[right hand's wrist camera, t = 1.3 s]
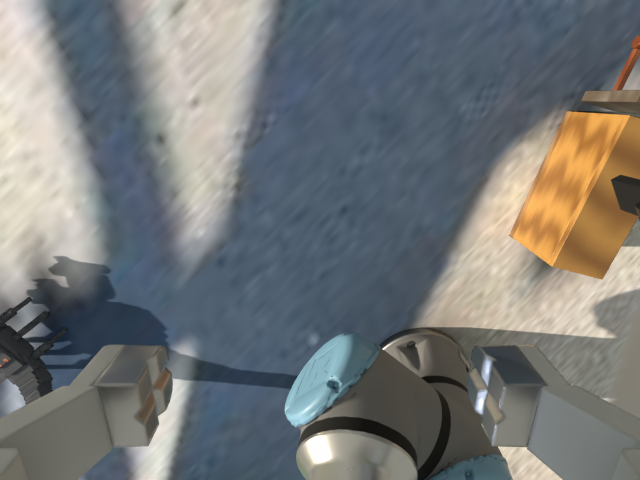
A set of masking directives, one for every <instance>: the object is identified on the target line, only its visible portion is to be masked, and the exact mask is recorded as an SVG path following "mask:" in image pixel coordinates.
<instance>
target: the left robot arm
mask: <svg viewBox="0 0 640 480" xmlns="http://www.w3.org/2000/svg"><path fill="white" fill-rule="evenodd" d="M611 182H612V185H613V188H614V192H615V195H616V198H617V201H618V204H619V207H620V210H623V211H625V212H628V213H631V214H634V215H636V216H638V217H639V220H640V179H636V178H632V177H628V176H624V175H619V176H617V177H615V178H613V179H611ZM469 369H470V365H469V363H468V362H467V359H466V357H465V355H464V353H463V352H462V350H461V348H460V346H459V345H458V344H457V343H456V342H455V341H454V340H453V339H452V338H451V337H449V336H448V335H446V334H444V333H442V332H440V331H437V330H433V329H426V328H416V329H409V330H405V331H402V332H399V333H397V334H394V335H392V336H391V337H389V338H388V339H386V340H385V341H384V342H383V343H381V344H380V345H377V344H373V343H372V342H370V341H369V340H367V339H365V338H364V337H362V336H361V335H359V334H355V333H352V332H348V333H343V334H340V335H338V336H336V337H334V338H333V339H331V340H330V341H328V342H327V343H326V344H325V345H323V346H322V347H321V348H320V349H319V350H318V351H317V352H316V353H315V354H314V355H313V357H312V358H311V359H310V360H309V361H308V363H307V364H306V365H305V367H304V368H303V369H302V371H301V372H300V374H299V375H298V377H297V379H296V380H295V382H294V384H293V386H292V388H291V390H290V392H289V395H288V397H287V400H286V405H285V414H286V416H287V419H288V420H289V421H290V422H291V424H292V426H295V427H299V428H300V429H301V436H300V441H299V445H298V450H297V456H296V460H297V465H298V468H299V469H300V471H301V473H302V474H303V476H304V477H305V479H306V480H513V479H512V476H511V474H510V471H509V469H508V465H507V461H506V459H505V458H503V456H502V454H501V452H500V450H499V448H498V446H492V445H491V443H490V441H489V439H488V437H487V435H486V433H485V431H484V429H483V427H482V425H481V421H482V416H481V415H480V414H479V413H477V412H476V411H475V410H474V409H473V407H472V404H471V402H470V399H469V395H468V386H467V382H468V374H469Z"/></svg>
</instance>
